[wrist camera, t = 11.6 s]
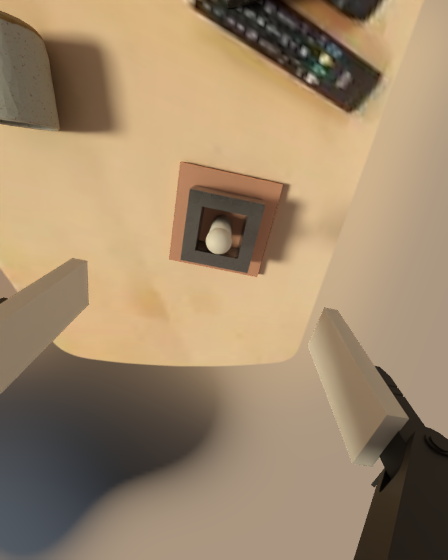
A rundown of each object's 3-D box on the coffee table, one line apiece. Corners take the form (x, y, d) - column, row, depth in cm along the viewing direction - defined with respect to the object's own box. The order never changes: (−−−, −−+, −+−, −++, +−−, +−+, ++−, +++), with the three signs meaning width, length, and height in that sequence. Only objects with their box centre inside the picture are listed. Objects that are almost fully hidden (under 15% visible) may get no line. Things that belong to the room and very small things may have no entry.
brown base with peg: (181, 161, 30) (161, 164, 22) (281, 183, 31) (299, 194, 22) (170, 256, 35) (150, 287, 27) (256, 273, 36) (262, 309, 28)
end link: (195, 184, 30) (189, 188, 27) (261, 199, 31) (265, 204, 27) (186, 248, 34) (180, 259, 30) (246, 260, 34) (247, 273, 31)
